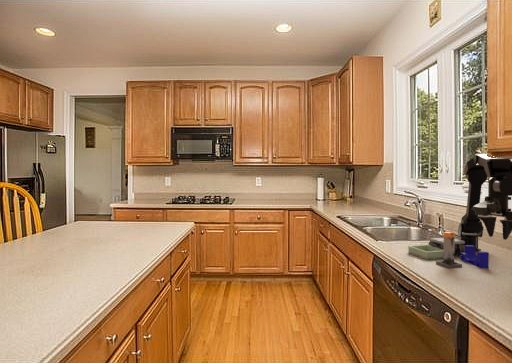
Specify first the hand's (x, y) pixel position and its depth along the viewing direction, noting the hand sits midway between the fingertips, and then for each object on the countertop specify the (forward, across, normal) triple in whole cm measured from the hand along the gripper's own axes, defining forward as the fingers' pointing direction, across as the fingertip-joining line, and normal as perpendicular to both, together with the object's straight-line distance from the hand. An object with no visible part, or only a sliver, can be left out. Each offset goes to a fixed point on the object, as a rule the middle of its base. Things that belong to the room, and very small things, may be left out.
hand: (497, 238), depth 118 cm
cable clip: (+12, -11, +1) cm, 17 cm away
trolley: (+12, -27, +3) cm, 29 cm away
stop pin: (+12, -11, -10) cm, 19 cm away
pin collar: (+12, -11, -10) cm, 19 cm away
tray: (+12, -26, -7) cm, 30 cm away
